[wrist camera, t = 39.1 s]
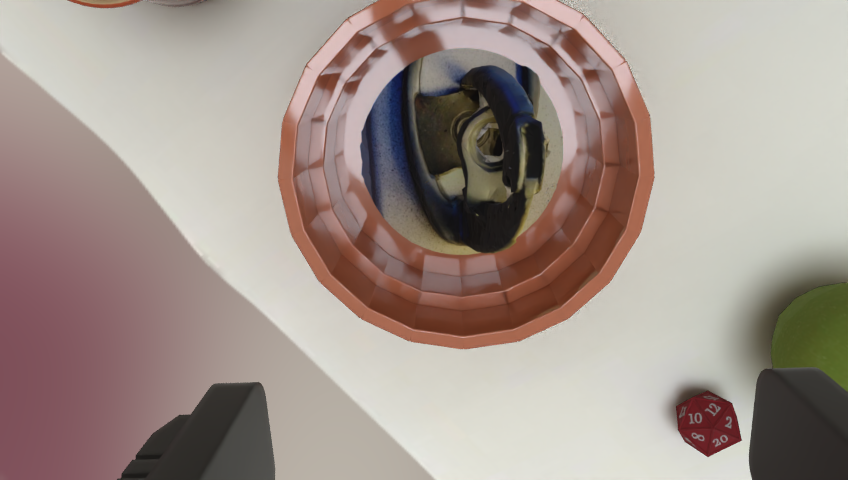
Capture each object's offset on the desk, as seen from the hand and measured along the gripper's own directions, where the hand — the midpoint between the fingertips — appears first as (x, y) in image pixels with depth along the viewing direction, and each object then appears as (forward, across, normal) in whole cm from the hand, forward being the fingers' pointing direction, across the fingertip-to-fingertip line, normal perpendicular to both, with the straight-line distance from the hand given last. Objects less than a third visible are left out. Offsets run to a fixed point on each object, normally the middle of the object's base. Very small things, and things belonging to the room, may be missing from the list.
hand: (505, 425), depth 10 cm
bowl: (+30, 0, 0) cm, 30 cm away
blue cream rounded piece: (+30, 0, +2) cm, 31 cm away
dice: (+30, -16, +18) cm, 39 cm away
